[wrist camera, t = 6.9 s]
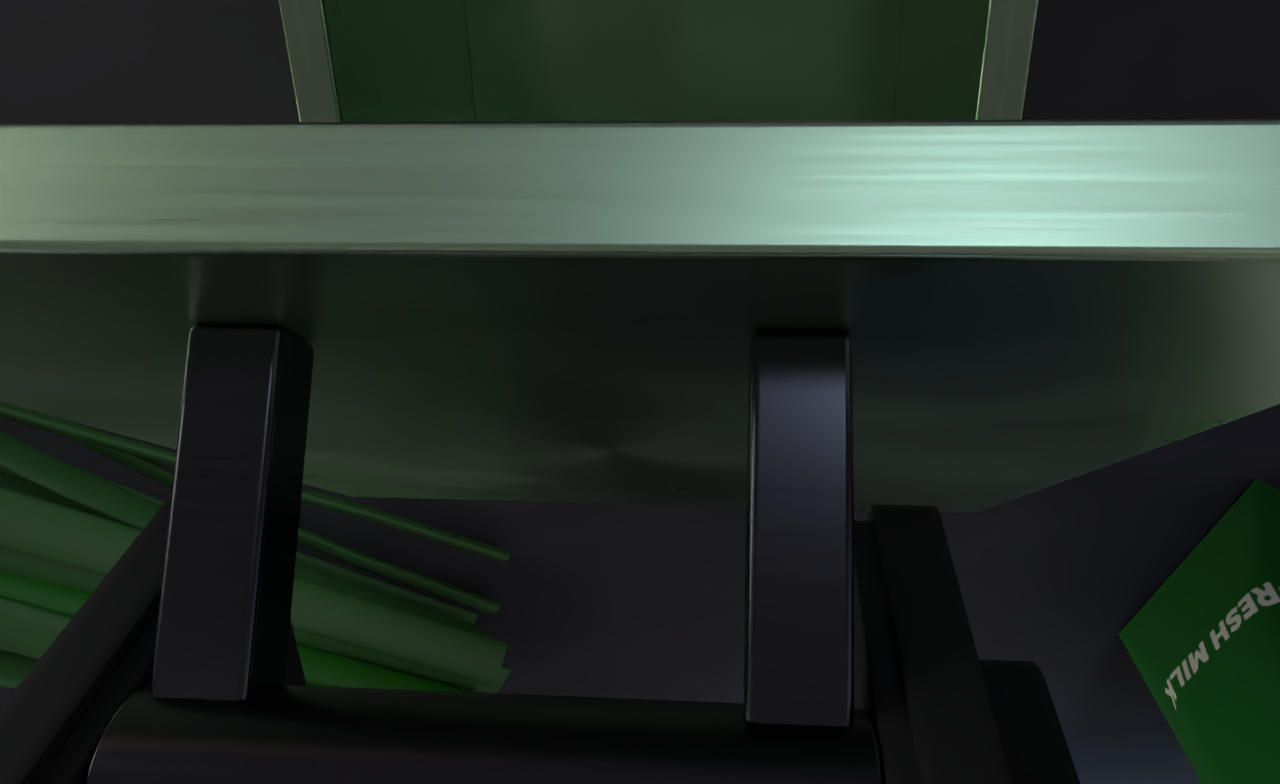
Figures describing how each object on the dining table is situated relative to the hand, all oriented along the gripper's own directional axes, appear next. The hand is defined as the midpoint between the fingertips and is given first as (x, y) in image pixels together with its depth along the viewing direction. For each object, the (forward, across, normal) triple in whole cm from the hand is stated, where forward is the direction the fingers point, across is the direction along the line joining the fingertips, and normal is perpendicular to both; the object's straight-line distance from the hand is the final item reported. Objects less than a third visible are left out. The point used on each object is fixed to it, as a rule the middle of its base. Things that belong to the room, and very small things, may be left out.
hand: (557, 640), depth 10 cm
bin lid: (+5, 0, 0) cm, 5 cm away
